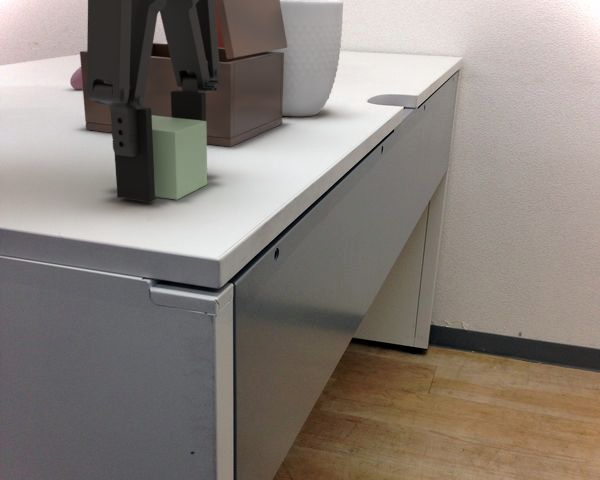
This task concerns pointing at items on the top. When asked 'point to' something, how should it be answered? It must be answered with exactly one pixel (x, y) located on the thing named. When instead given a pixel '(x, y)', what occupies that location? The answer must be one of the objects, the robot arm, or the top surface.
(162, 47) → the chest
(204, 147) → the block
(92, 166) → the top surface
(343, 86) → the top surface
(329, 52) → the mug
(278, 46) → the lid
